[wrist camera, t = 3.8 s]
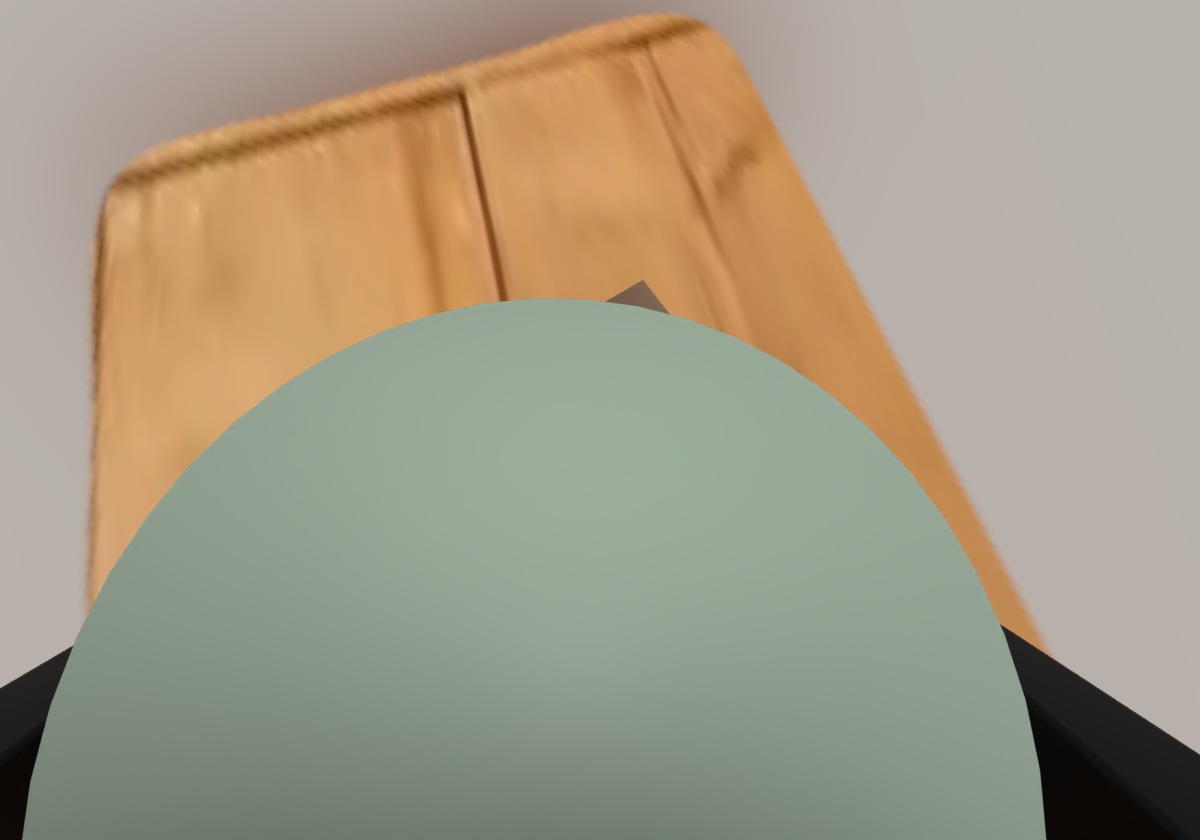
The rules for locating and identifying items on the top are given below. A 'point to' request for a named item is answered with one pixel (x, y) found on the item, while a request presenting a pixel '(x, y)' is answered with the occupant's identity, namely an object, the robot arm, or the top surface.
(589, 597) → the peg
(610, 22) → the top surface
